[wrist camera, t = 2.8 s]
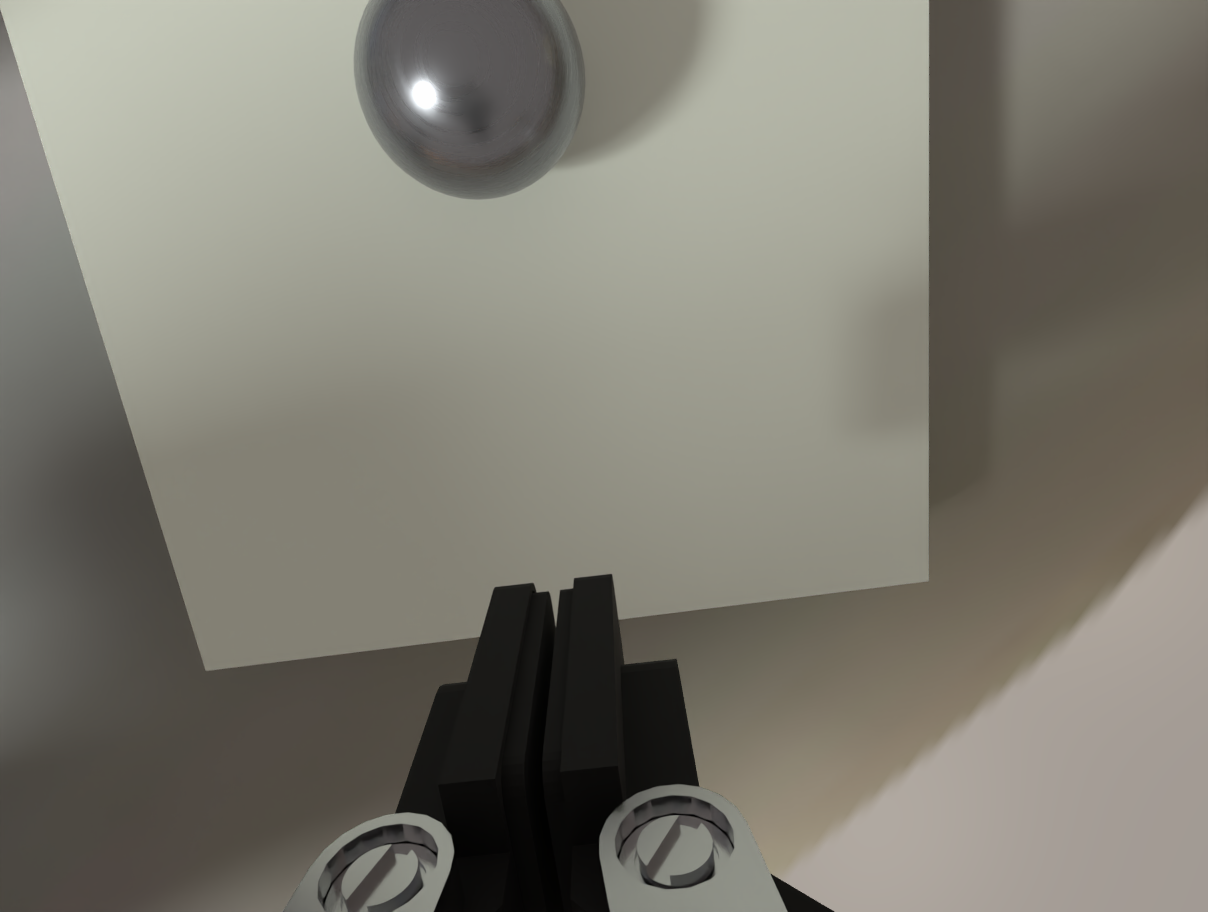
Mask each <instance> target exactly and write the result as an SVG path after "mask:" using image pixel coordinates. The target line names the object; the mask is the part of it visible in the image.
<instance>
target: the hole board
mask: <svg viewBox="0 0 1208 912" xmlns="http://www.w3.org/2000/svg"><path fill="white" fill-rule="evenodd" d="M560 1H561V2H562V4H563V6H564V8H565V9H566V11H567V13H568V14H569V16H570V18H571V21H572V23H573V25H574V28H575V30H576V33H577V36H578V39H579V43H580V46H581V49H582V54H583V60H584V66H585V98H584V104H583V109H582V114H581V118H580V121H579V124H578V127H577V130H576V132H575V134H574V136H573V138H572V141H571V143H570V144H569V146H568V148H567V149H566V151H565V152H564V154H563V156H562V157H561V158H560V159H559V161H558V162H557V163H556V164H555V166H554V167H553V168H552V169H551V170H550V171H548V172H547V173H546V174H545V175H544V176H543V177H542V178H540V179H539V180H538V181H536V182H535V183H533V184H532V185H530V186H528V187H526V188H524V189H522V190H520V191H518V192H515V193H513V194H510V195H507V196H503V197H498V198H493V199H481V200H474V199H462V198H457V197H453V196H448V195H445V194H443V193H440V192H437V191H434V190H432V189H431V188H429V187H427V186H425V185H423V184H421V183H419V182H418V181H417V180H415V179H414V178H412V177H411V176H409V175H408V174H406V173H405V172H404V171H403V170H402V169H401V168H400V167H398V166H397V165H396V164H395V163H394V162H393V161H392V160H391V158H390V157H389V156H388V155H387V154H386V153H385V152H384V150H383V149H382V147H381V146H380V145H379V143H378V142H377V140H376V139H375V137H374V135H373V133H372V131H371V130H370V128H369V126H368V124H367V122H366V119H365V116H364V114H363V111H362V109H361V106H360V103H359V99H358V95H357V91H356V86H355V78H354V47H355V39H356V35H357V31H358V26H359V23H360V20H361V18H362V15H363V12H364V10H365V7H366V6H367V4H368V2H369V0H0V9H1V13H2V16H3V19H4V22H5V25H6V29H7V32H8V35H9V38H10V42H11V45H12V48H13V51H14V54H15V58H16V61H17V64H18V67H19V71H20V74H21V77H22V80H23V84H24V87H25V90H26V93H27V96H28V100H29V103H30V106H31V109H32V113H33V116H34V119H35V122H36V125H37V129H38V132H39V135H40V138H41V142H42V145H43V148H44V151H45V154H46V158H47V161H48V164H49V167H50V171H51V174H52V177H53V180H54V183H55V187H56V190H57V193H58V196H59V200H60V203H61V206H62V209H63V213H64V216H65V219H66V222H67V225H68V229H69V232H70V235H71V238H72V242H73V245H74V248H75V251H76V254H77V258H78V261H79V264H80V267H81V271H82V274H83V277H84V280H85V283H86V287H87V290H88V293H89V296H90V300H91V303H92V306H93V309H94V312H95V316H96V319H97V322H98V325H99V329H100V332H101V335H102V338H103V342H104V345H105V348H106V351H107V354H108V358H109V361H110V364H111V367H112V371H113V374H114V377H115V380H116V383H117V387H118V390H119V393H120V396H121V400H122V403H123V406H124V409H125V412H126V416H127V419H128V422H129V425H130V429H131V432H132V435H133V438H134V442H135V445H136V448H137V451H138V454H139V458H140V461H141V464H142V467H143V471H144V474H145V477H146V480H147V483H148V487H149V490H150V493H151V496H152V500H153V503H154V506H155V509H156V512H157V516H158V519H159V522H160V525H161V529H162V532H163V535H164V538H165V541H166V545H167V548H168V551H169V554H170V558H171V561H172V564H173V567H174V571H175V574H176V577H177V580H178V583H179V587H180V590H181V593H182V596H183V600H184V603H185V606H186V609H187V612H188V616H189V619H190V622H191V625H192V629H193V632H194V635H195V638H196V641H197V645H198V648H199V651H200V654H201V658H202V661H203V664H204V667H205V671H210V670H218V669H226V668H234V667H242V666H250V665H258V664H266V663H274V662H283V661H291V660H299V659H307V658H315V657H323V656H331V655H339V654H347V653H355V652H363V651H371V650H379V649H387V648H395V647H403V646H411V645H419V644H428V643H436V642H444V641H452V640H460V639H468V638H476V637H480V635H481V631H482V628H483V624H484V621H485V617H486V614H487V610H488V607H489V603H490V600H491V596H492V593H493V590H494V588H495V587H500V586H509V585H517V584H526V583H534V585H535V588H536V592H546V591H549V593H550V596H551V601H552V607H553V613H554V619H555V625H556V623H557V613H558V604H559V594H560V590H563V589H572V588H573V583H574V578H579V577H588V576H597V575H606V574H612V576H613V582H614V589H615V597H616V605H617V612H618V620H621V619H629V618H637V617H645V616H653V615H661V614H669V613H677V612H685V611H693V610H701V609H709V608H718V607H726V606H734V605H742V604H750V603H758V602H766V601H774V600H782V599H790V598H798V597H806V596H814V595H822V594H830V593H838V592H846V591H855V590H863V589H871V588H879V587H887V586H895V585H903V584H911V583H919V582H927V581H929V0H560Z"/></svg>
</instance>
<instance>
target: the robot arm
mask: <svg viewBox="0 0 1208 912" xmlns="http://www.w3.org/2000/svg"><path fill="white" fill-rule="evenodd" d="M283 912H834V911H832V910H831V909H829V908H827V907H825V906H824V905H822V904H821V903H819V902H817V901H815V900H814V899H812V898H810V897H809V896H807V895H805V894H804V893H802V892H800V891H798V890H797V889H795V888H794V887H792V886H790V885H789V884H787V883H785V882H783V881H782V880H780V879H778V878H777V877H775V876H773V875H772V874H770V872H769V870H768V868H767V865H766V863H765V861H764V859H763V857H762V854H761V852H760V850H759V848H758V845H757V843H756V841H755V839H754V837H753V834H752V832H751V830H750V828H749V826H748V823H747V822H746V820H745V819H744V817H743V816H742V814H741V813H740V811H739V810H738V809H737V807H736V806H735V805H733V804H732V803H731V802H729V801H728V800H727V799H725V798H724V797H723V796H721V795H720V794H717V793H715V792H712V791H710V790H707V789H704V788H702V787H699V783H698V777H697V771H696V765H695V760H694V754H693V748H692V743H691V737H690V731H689V726H688V720H687V714H686V709H685V703H684V697H683V692H682V686H681V680H680V675H679V669H678V664H677V660H676V659H672V660H663V661H653V662H644V663H635V664H626V665H624V658H623V651H622V643H621V635H620V628H619V620H618V612H617V605H616V597H615V589H614V582H613V576H612V574H606V575H597V576H588V577H579V578H574V583H573V588H572V589H563V590H560V594H559V604H558V613H557V623H556V625H555V619H554V613H553V607H552V601H551V596H550V593H549V591H546V592H536V588H535V585H534V583H526V584H517V585H509V586H500V587H495V588H494V590H493V593H492V596H491V600H490V603H489V607H488V610H487V614H486V617H485V621H484V624H483V628H482V631H481V635H480V638H479V642H478V645H477V649H476V652H475V656H474V659H473V663H472V666H471V670H470V673H469V677H468V680H467V682H462V683H453V684H444V685H442V686H440V687H439V689H438V691H437V693H436V696H435V699H434V702H433V705H432V708H431V711H430V714H429V717H428V719H427V722H426V725H425V728H424V731H423V734H422V737H421V740H420V743H419V746H418V749H417V752H416V754H415V757H414V760H413V763H412V766H411V769H410V772H409V775H408V778H407V781H406V784H405V787H404V789H403V792H402V795H401V798H400V801H399V804H398V807H397V810H396V813H395V814H389V815H384V816H381V817H378V818H375V819H372V820H369V821H366V822H364V823H362V824H360V825H358V826H356V827H354V828H353V829H351V830H349V831H347V832H345V833H344V834H342V835H341V836H340V837H339V838H337V839H336V840H335V841H334V842H332V843H331V844H330V845H329V846H328V847H326V848H325V849H324V850H323V852H322V853H321V854H320V855H319V857H318V858H317V859H316V860H315V862H314V863H313V864H312V865H311V867H310V868H309V870H308V871H307V873H306V874H305V876H304V878H303V879H302V881H301V883H300V884H299V886H298V887H297V889H296V891H295V892H294V894H293V896H292V897H291V899H290V900H289V902H288V904H287V905H286V907H285V909H284V910H283Z"/></svg>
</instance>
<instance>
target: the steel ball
mask: <svg viewBox="0 0 1208 912" xmlns="http://www.w3.org/2000/svg"><path fill="white" fill-rule="evenodd" d="M354 78H355V86H356V91H357V95H358V99H359V103H360V106H361V109H362V111H363V114H364V116H365V119H366V122H367V124H368V126H369V128H370V130H371V131H372V133H373V135H374V137H375V139H376V140H377V142H378V143H379V145H380V146H381V147H382V149H383V150H384V152H385V153H386V154H387V155H388V156H389V157H390V158H391V160H392V161H393V162H394V163H395V164H396V165H397V166H398V167H400V168H401V169H402V170H403V171H404V172H405V173H406V174H408V175H409V176H411V177H412V178H414V179H415V180H417V181H418V182H419V183H421V184H423V185H425V186H427V187H429V188H431V189H432V190H434V191H437V192H440V193H443V194H445V195H448V196H453V197H457V198H462V199H474V200H481V199H493V198H498V197H503V196H507V195H510V194H513V193H515V192H518V191H520V190H522V189H524V188H526V187H528V186H530V185H532V184H533V183H535V182H536V181H538V180H539V179H540V178H542V177H543V176H544V175H545V174H546V173H547V172H548V171H550V170H551V169H552V168H553V167H554V166H555V164H556V163H557V162H558V161H559V159H560V158H561V157H562V156H563V154H564V152H565V151H566V149H567V148H568V146H569V144H570V143H571V141H572V138H573V136H574V134H575V132H576V130H577V127H578V124H579V121H580V118H581V114H582V109H583V104H584V98H585V66H584V60H583V54H582V49H581V46H580V43H579V39H578V36H577V33H576V30H575V28H574V25H573V23H572V21H571V18H570V16H569V14H568V13H567V11H566V9H565V8H564V6H563V4H562V2H561V1H560V0H369V2H368V4H367V6H366V7H365V10H364V12H363V15H362V18H361V20H360V23H359V26H358V31H357V35H356V39H355V47H354Z"/></svg>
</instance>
